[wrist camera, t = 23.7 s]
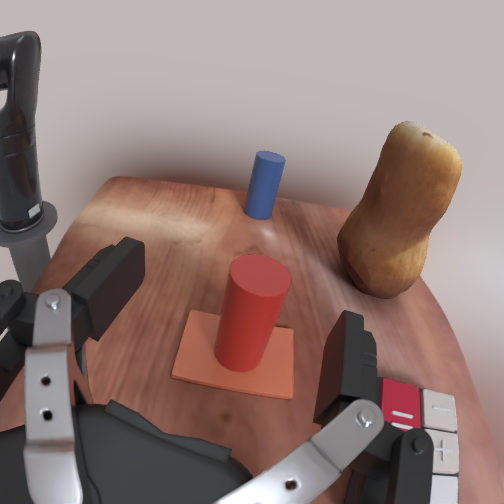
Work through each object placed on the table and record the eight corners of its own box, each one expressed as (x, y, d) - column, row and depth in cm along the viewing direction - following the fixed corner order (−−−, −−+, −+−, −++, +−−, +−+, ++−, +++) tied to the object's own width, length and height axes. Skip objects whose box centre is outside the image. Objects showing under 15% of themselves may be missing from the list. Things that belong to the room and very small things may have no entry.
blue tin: (242, 216, 55) (255, 157, 48) (245, 203, 59) (257, 148, 52) (270, 222, 55) (285, 164, 49) (271, 208, 59) (285, 155, 53)
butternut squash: (414, 296, 46) (487, 159, 31) (372, 327, 39) (465, 153, 24) (357, 247, 54) (409, 116, 40) (306, 265, 47) (362, 102, 32)
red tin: (210, 367, 29) (225, 288, 23) (218, 329, 33) (234, 248, 27) (259, 376, 29) (291, 301, 23) (263, 338, 34) (291, 260, 27)
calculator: (457, 392, 27) (463, 511, 14) (436, 411, 29) (434, 523, 17) (380, 370, 29) (365, 508, 16) (361, 392, 31) (340, 516, 18)
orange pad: (171, 377, 28) (171, 374, 28) (190, 312, 35) (190, 308, 35) (291, 399, 28) (293, 397, 28) (291, 332, 36) (293, 329, 35)
